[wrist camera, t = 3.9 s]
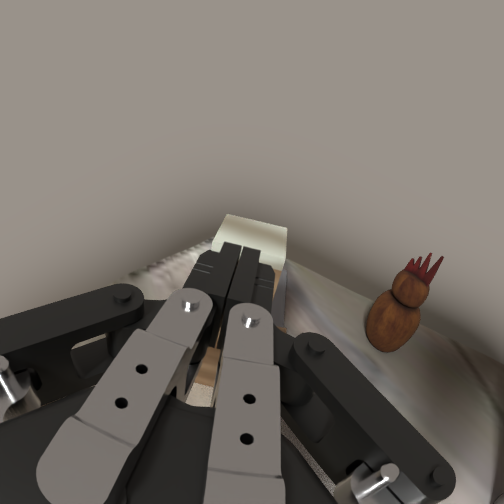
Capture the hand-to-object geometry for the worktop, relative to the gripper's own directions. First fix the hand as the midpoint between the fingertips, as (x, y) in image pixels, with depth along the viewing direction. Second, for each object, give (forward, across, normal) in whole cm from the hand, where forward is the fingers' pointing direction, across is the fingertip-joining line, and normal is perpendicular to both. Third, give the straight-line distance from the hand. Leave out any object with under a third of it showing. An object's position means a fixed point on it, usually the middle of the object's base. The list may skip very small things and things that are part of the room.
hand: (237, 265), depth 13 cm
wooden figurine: (+20, -20, +19) cm, 34 cm away
